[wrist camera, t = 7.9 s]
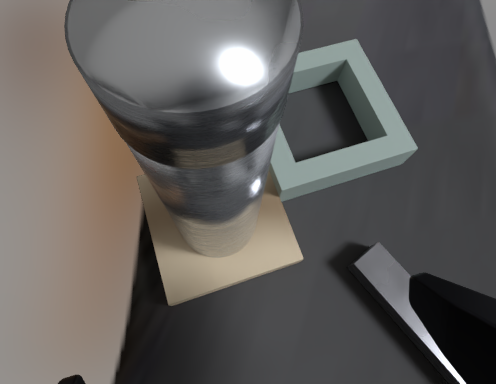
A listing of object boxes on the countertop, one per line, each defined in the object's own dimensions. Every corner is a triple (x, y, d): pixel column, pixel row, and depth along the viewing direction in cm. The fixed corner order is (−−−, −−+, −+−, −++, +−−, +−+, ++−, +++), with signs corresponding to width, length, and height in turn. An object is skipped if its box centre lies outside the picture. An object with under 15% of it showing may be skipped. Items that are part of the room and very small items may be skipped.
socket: (401, 164, 21) (418, 148, 19) (277, 203, 20) (281, 190, 18) (346, 61, 24) (356, 38, 22) (233, 90, 22) (233, 69, 20)
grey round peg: (272, 232, 18) (350, 48, 6) (203, 274, 17) (128, 160, 5) (231, 170, 19) (227, -91, 7) (164, 206, 18) (28, -19, 6)
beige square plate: (300, 262, 19) (303, 258, 18) (171, 306, 18) (168, 305, 17) (257, 150, 21) (257, 142, 20) (140, 183, 20) (136, 176, 19)
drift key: (486, 373, 17) (504, 377, 16) (463, 400, 17) (479, 405, 16) (369, 246, 19) (378, 241, 18) (346, 267, 19) (354, 263, 18)
